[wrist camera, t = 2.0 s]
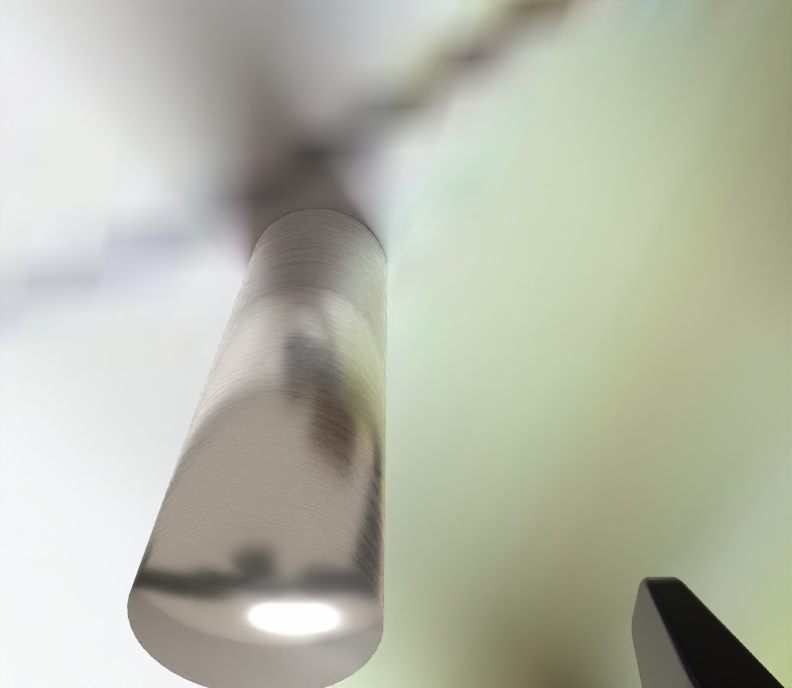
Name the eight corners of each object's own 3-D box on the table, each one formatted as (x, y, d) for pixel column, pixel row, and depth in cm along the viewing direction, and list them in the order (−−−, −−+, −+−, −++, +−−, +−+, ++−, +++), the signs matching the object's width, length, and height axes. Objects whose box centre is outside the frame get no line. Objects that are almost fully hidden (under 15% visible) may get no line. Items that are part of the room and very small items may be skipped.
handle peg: (384, 205, 15) (377, 531, 8) (390, 327, 17) (389, 693, 9) (241, 211, 15) (98, 539, 8) (261, 331, 17) (158, 699, 10)
